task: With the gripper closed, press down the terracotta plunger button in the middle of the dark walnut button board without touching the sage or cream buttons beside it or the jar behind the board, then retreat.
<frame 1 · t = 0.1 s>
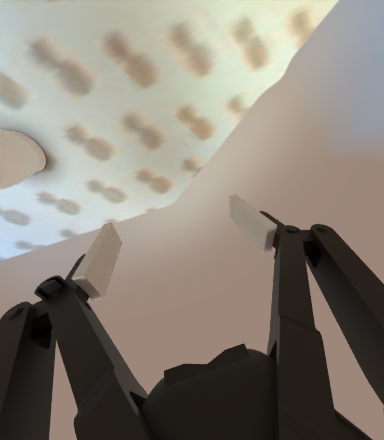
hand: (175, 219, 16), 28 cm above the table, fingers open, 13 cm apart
jar: (23, 152, 32), on the table
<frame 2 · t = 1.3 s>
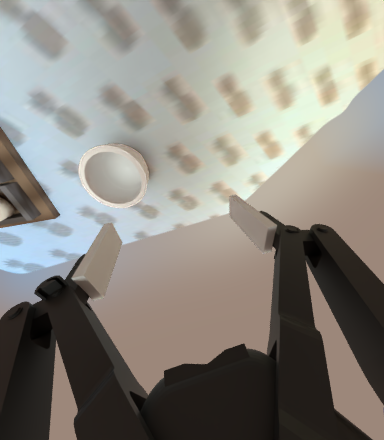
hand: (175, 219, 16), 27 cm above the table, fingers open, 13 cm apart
jar: (129, 165, 37), on the table
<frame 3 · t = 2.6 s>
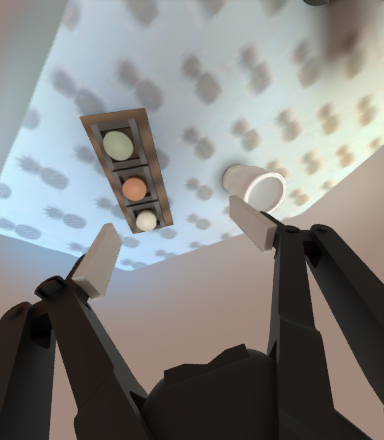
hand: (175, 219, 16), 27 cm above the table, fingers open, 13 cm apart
button terracotta: (135, 188, 33), point 6 cm above the table, slide at 0.0 cm
button board: (138, 181, 39), on the table
jar: (234, 179, 44), on the table
button cream: (146, 220, 38), point 6 cm above the table, slide at 0.0 cm
button sage: (119, 146, 28), point 6 cm above the table, slide at 0.0 cm
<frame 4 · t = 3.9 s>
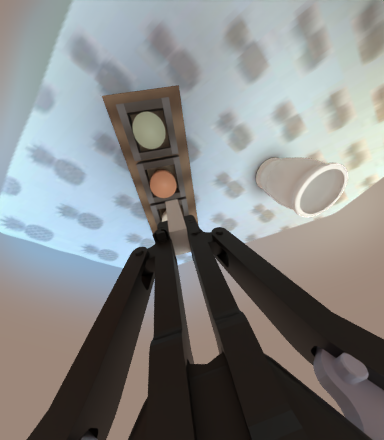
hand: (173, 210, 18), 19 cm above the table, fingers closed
button terracotta: (163, 183, 28), point 6 cm above the table, slide at 0.0 cm
button board: (162, 175, 34), on the table
jar: (269, 173, 39), on the table
button cream: (172, 220, 33), point 6 cm above the table, slide at 0.0 cm
button sage: (150, 131, 23), point 6 cm above the table, slide at 0.0 cm
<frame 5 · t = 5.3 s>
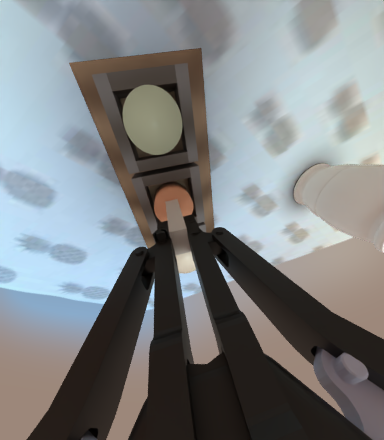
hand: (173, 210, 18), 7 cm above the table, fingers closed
button terracotta: (173, 203, 19), point 5 cm above the table, slide at 1.1 cm, touching gripper
button board: (170, 191, 24), on the table
jar: (310, 184, 29), on the table
button cream: (185, 255, 23), point 6 cm above the table, slide at 0.0 cm
button sage: (154, 124, 14), point 6 cm above the table, slide at 0.0 cm
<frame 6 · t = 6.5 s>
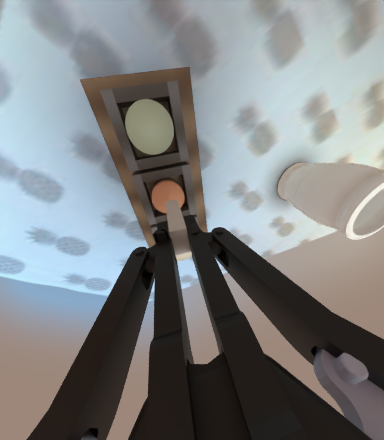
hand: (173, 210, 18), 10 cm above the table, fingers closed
button terracotta: (167, 195, 23), point 4 cm above the table, slide at 2.0 cm
button board: (166, 187, 26), on the table
jar: (292, 181, 32), on the table
button cream: (180, 244, 26), point 6 cm above the table, slide at 0.0 cm
button sage: (150, 129, 16), point 6 cm above the table, slide at 0.0 cm
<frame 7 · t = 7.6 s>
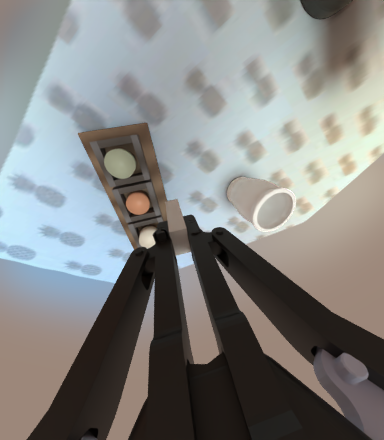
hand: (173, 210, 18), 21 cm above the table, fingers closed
button terracotta: (138, 202, 33), point 4 cm above the table, slide at 2.0 cm
button board: (139, 196, 37), on the table
jar: (238, 190, 43), on the table
button cream: (149, 237, 36), point 6 cm above the table, slide at 0.0 cm
button sage: (121, 163, 27), point 6 cm above the table, slide at 0.0 cm
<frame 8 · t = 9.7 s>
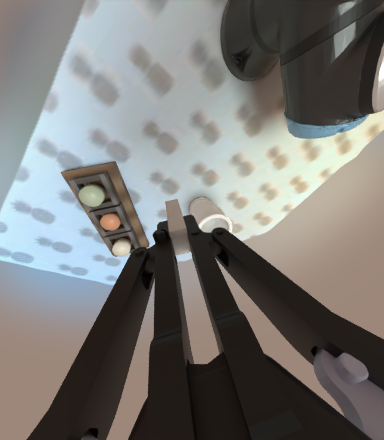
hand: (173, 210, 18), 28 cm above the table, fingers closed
button terracotta: (111, 220, 42), point 4 cm above the table, slide at 2.0 cm
button board: (115, 214, 46), on the table
jar: (200, 207, 51), on the table
button cream: (122, 247, 45), point 6 cm above the table, slide at 0.0 cm
button sage: (93, 195, 35), point 6 cm above the table, slide at 0.0 cm
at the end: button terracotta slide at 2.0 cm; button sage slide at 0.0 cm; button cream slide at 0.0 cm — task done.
